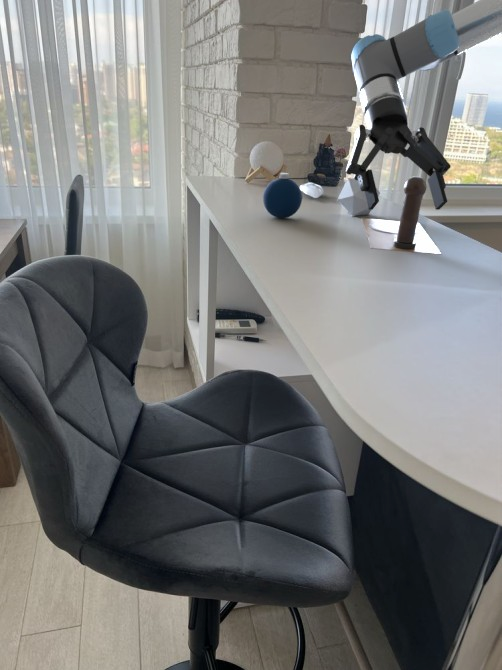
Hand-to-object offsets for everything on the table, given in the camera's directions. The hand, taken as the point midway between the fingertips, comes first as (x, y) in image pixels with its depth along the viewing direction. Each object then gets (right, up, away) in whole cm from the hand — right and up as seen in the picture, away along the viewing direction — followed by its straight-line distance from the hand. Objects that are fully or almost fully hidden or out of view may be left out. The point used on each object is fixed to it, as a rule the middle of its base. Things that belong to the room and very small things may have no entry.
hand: (408, 205), depth 91 cm
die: (-4, +5, +27) cm, 28 cm away
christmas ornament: (-22, +2, +20) cm, 30 cm away
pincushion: (-12, +14, +44) cm, 48 cm away
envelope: (+1, -3, +11) cm, 11 cm away
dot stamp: (0, -7, +2) cm, 7 cm away
